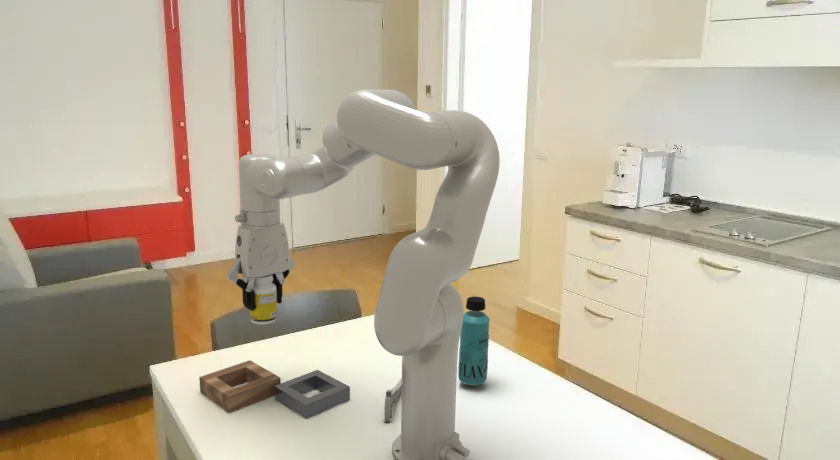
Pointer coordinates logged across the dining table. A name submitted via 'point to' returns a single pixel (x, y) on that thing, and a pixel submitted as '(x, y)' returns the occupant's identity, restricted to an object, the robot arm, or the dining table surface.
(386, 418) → the caliper
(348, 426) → the dining table surface
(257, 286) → the supplement bottle
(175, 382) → the dining table surface
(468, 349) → the beverage bottle
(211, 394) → the block
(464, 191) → the robot arm
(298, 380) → the socket block
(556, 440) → the dining table surface
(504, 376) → the dining table surface
